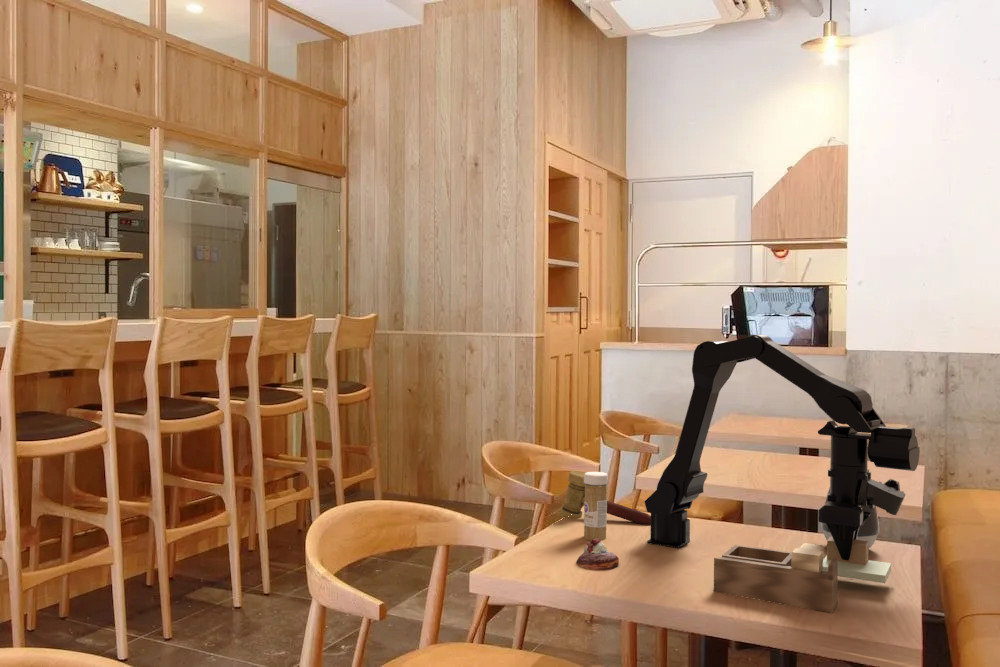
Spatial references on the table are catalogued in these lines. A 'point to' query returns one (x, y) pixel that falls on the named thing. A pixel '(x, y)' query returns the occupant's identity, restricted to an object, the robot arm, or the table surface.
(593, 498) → the sprinkles bottle
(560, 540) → the table surface
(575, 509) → the gavel
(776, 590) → the toolbox
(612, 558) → the pastry
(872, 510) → the grey white egg shape
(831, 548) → the lid
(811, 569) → the tan wooden block
